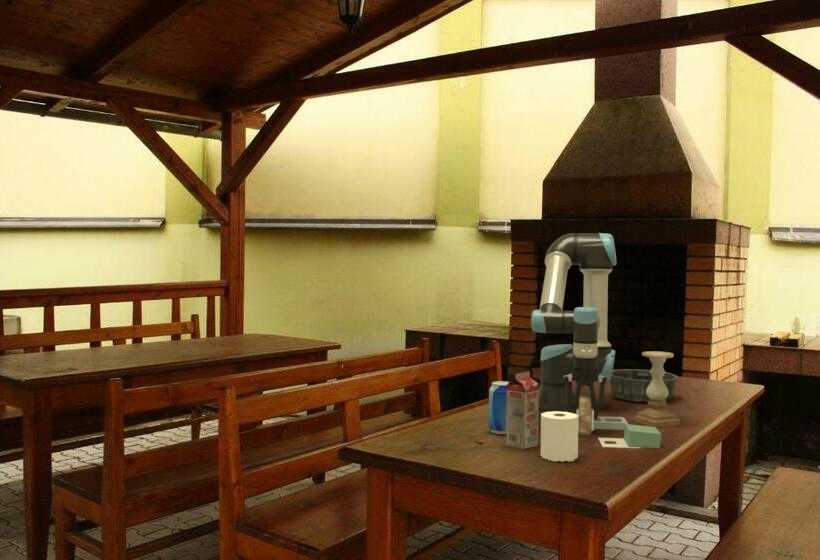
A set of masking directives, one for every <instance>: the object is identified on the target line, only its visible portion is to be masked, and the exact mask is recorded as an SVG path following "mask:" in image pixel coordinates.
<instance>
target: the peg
mask: <svg viewBox="0 0 820 560" xmlns="http://www.w3.org/2000/svg"><path fill="white" fill-rule="evenodd" d="M577 408H578V409H579V430H578V435H584V436H587V435H588V436H589V435H592V431H591V408H592V399H591V395H590V396H589V395H579V399H578V404H577Z"/></svg>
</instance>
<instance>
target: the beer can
mask: <svg viewBox="0 0 820 560" xmlns="http://www.w3.org/2000/svg"><path fill="white" fill-rule="evenodd" d="M509 382H510V381H505V380H504V381H501V380H498V381H497V380H496V381H492V383H491V386H490V387H489V389H488V429H489V431H490V433H491V432H493V433H496V434H507V384H508V383H509ZM493 433H492V434H493ZM496 434H495V435H496Z"/></svg>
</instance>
